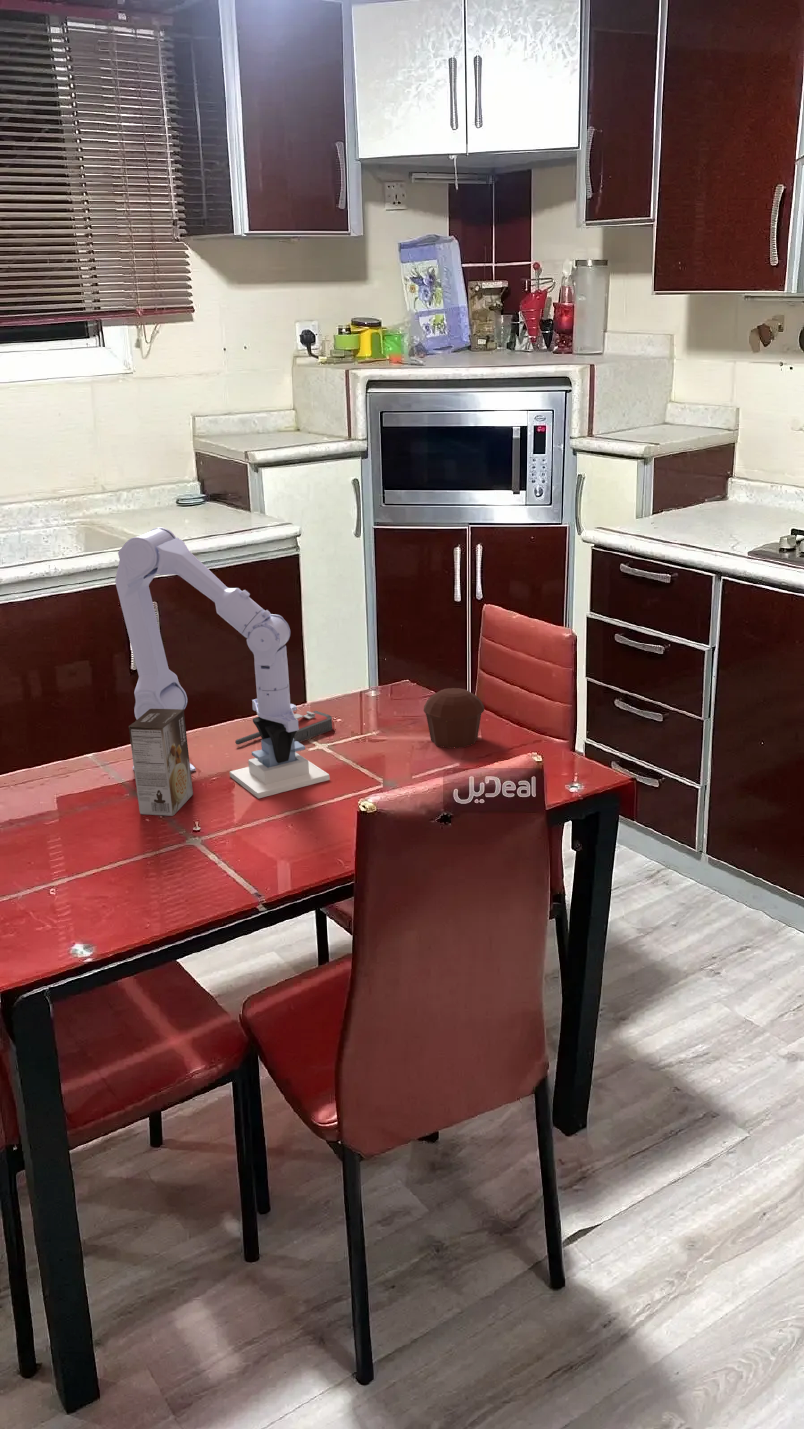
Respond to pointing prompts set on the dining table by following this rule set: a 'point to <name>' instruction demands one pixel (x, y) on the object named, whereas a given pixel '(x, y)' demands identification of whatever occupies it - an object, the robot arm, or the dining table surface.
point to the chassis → (278, 776)
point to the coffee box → (161, 761)
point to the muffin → (453, 717)
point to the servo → (268, 752)
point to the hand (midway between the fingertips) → (277, 758)
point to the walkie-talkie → (303, 727)
